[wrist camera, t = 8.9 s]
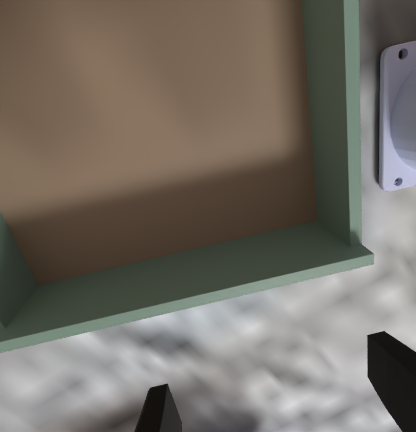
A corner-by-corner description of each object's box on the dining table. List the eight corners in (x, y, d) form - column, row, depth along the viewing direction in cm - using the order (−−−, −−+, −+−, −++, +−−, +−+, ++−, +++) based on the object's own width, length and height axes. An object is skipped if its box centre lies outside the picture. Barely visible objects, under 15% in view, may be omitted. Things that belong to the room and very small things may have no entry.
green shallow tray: (303, -129, 13) (376, -261, 8) (325, 225, 19) (373, 264, 14) (-137, -38, 12) (-324, -123, 8) (33, 293, 19) (-14, 356, 14)
